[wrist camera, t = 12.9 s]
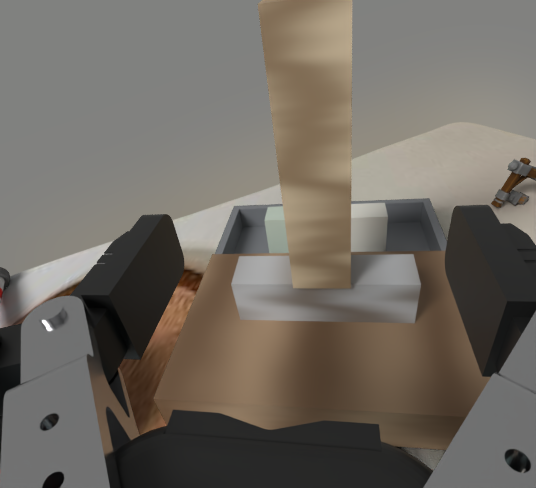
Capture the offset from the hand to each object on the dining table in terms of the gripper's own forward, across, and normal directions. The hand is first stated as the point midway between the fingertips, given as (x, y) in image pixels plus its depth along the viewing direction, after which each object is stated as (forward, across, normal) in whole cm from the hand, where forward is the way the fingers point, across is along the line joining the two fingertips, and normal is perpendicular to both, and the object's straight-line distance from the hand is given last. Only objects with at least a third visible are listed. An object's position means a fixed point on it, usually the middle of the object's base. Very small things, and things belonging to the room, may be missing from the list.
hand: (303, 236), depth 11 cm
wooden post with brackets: (+24, -19, +14) cm, 34 cm away
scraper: (+8, 0, +10) cm, 13 cm away
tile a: (+15, -2, +11) cm, 19 cm away
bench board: (+7, 0, +13) cm, 15 cm away
